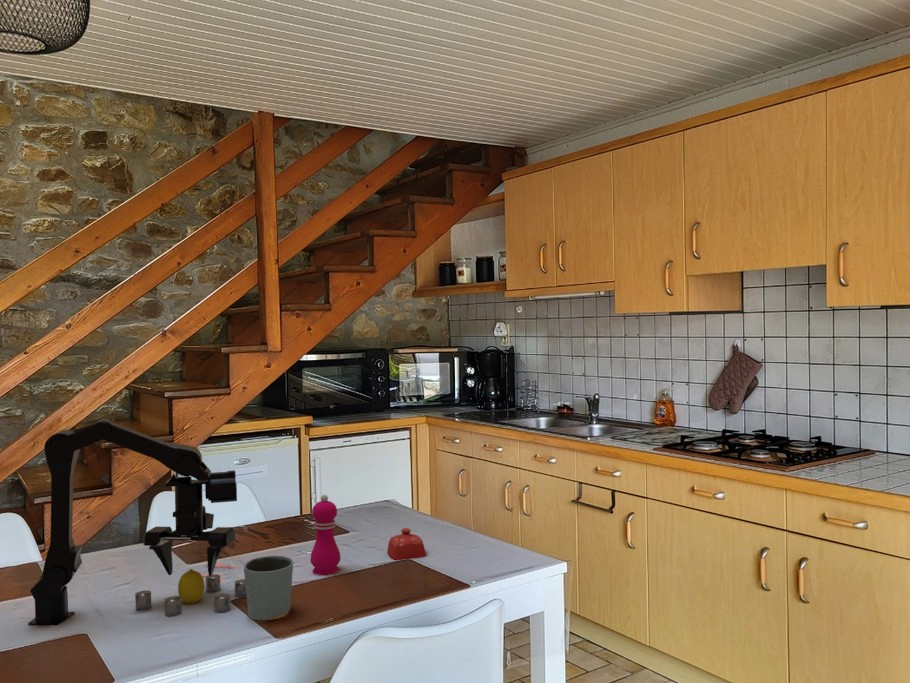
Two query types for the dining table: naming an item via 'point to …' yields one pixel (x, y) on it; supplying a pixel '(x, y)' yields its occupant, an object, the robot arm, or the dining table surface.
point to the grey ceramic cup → (268, 586)
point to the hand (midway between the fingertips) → (190, 574)
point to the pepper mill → (325, 538)
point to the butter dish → (405, 546)
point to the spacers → (175, 601)
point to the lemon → (191, 586)
